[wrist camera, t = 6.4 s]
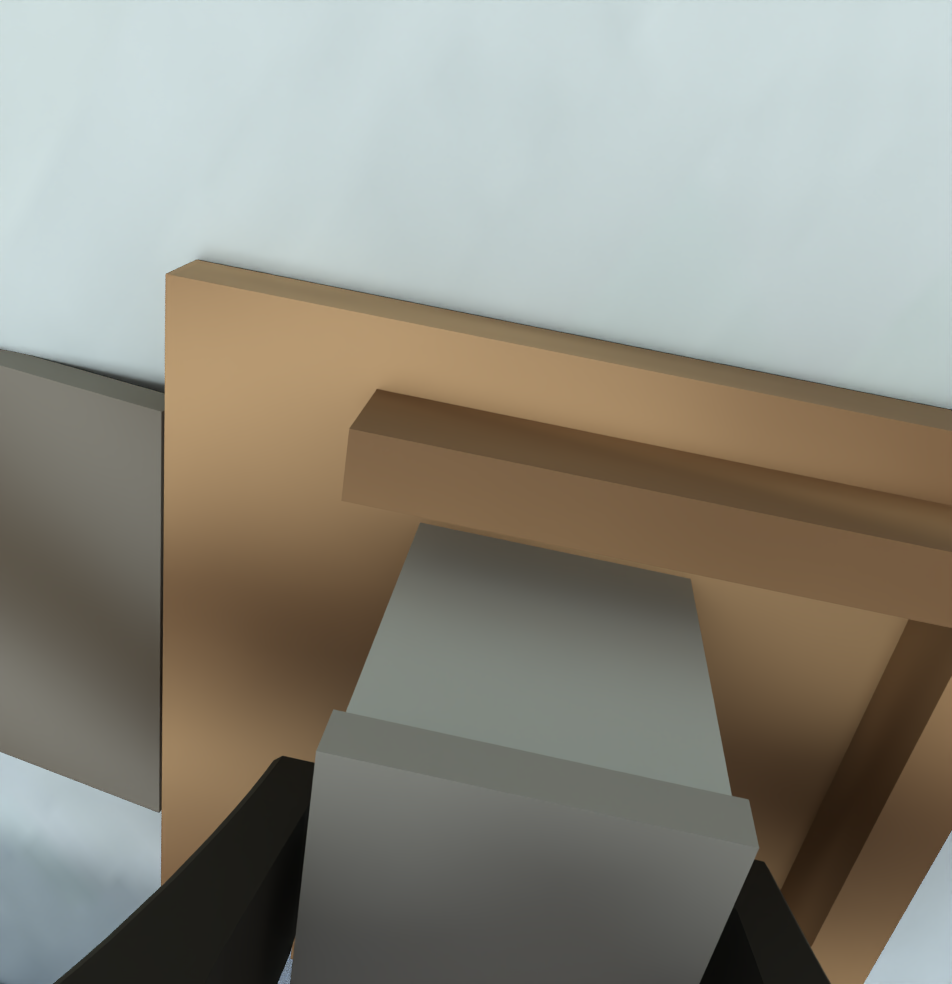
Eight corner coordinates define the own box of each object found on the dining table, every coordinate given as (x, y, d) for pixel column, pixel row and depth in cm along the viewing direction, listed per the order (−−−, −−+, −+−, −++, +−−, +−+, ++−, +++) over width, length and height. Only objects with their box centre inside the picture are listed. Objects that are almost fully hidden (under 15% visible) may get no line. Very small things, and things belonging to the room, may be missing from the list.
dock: (759, 950, 18) (790, 1111, 15) (-80, 762, 19) (-199, 883, 16) (1018, 412, 13) (1137, 508, 10) (-173, 175, 13) (-376, 202, 10)
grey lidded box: (606, 853, 15) (611, 1181, 11) (370, 800, 15) (276, 1102, 11) (700, 571, 12) (759, 848, 8) (414, 511, 13) (316, 750, 8)
